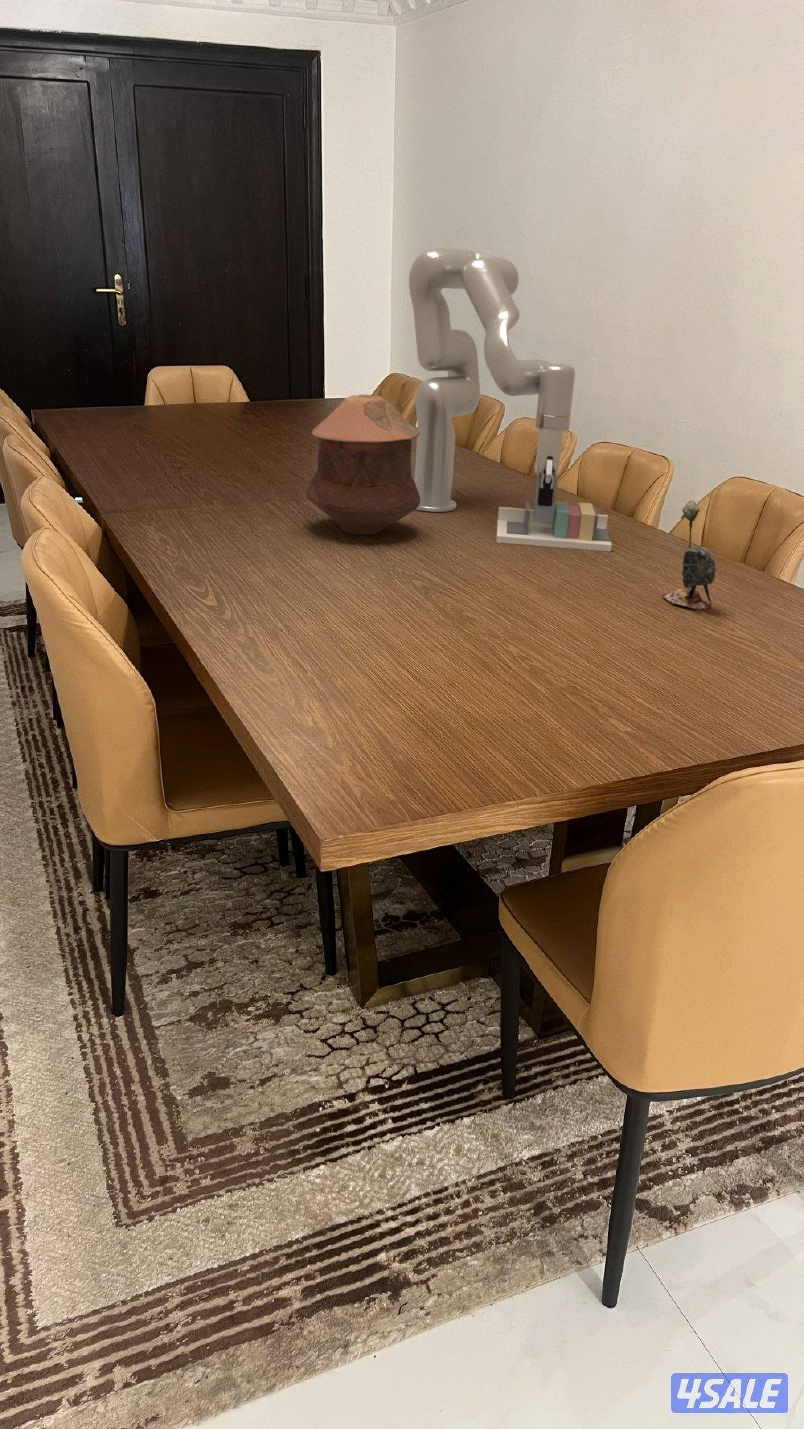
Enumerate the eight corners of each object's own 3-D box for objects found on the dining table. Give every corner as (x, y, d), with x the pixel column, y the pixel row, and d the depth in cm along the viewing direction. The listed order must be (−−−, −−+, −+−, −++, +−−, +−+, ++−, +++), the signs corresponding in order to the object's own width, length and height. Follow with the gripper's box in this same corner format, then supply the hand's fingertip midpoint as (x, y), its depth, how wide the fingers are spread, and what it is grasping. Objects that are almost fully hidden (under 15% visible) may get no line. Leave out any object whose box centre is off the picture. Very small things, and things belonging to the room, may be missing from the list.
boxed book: (534, 517, 233) (539, 473, 229) (534, 511, 239) (538, 468, 234) (552, 518, 233) (556, 474, 229) (551, 512, 238) (555, 469, 234)
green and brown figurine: (683, 615, 192) (702, 510, 183) (657, 596, 201) (673, 495, 193) (722, 614, 193) (742, 510, 185) (694, 595, 203) (712, 495, 195)
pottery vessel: (435, 527, 240) (444, 396, 228) (388, 552, 219) (396, 409, 207) (339, 511, 250) (342, 384, 237) (285, 533, 229) (286, 395, 216)
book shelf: (496, 542, 232) (499, 509, 228) (497, 525, 246) (500, 494, 243) (611, 551, 230) (615, 518, 227) (605, 533, 244) (609, 502, 241)
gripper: (534, 415, 235) (527, 493, 243) (536, 427, 220) (528, 509, 227) (567, 417, 235) (558, 495, 242) (571, 429, 219) (562, 512, 226)
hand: (544, 501), depth 234 cm, fingers closed on boxed book, 6 cm apart
